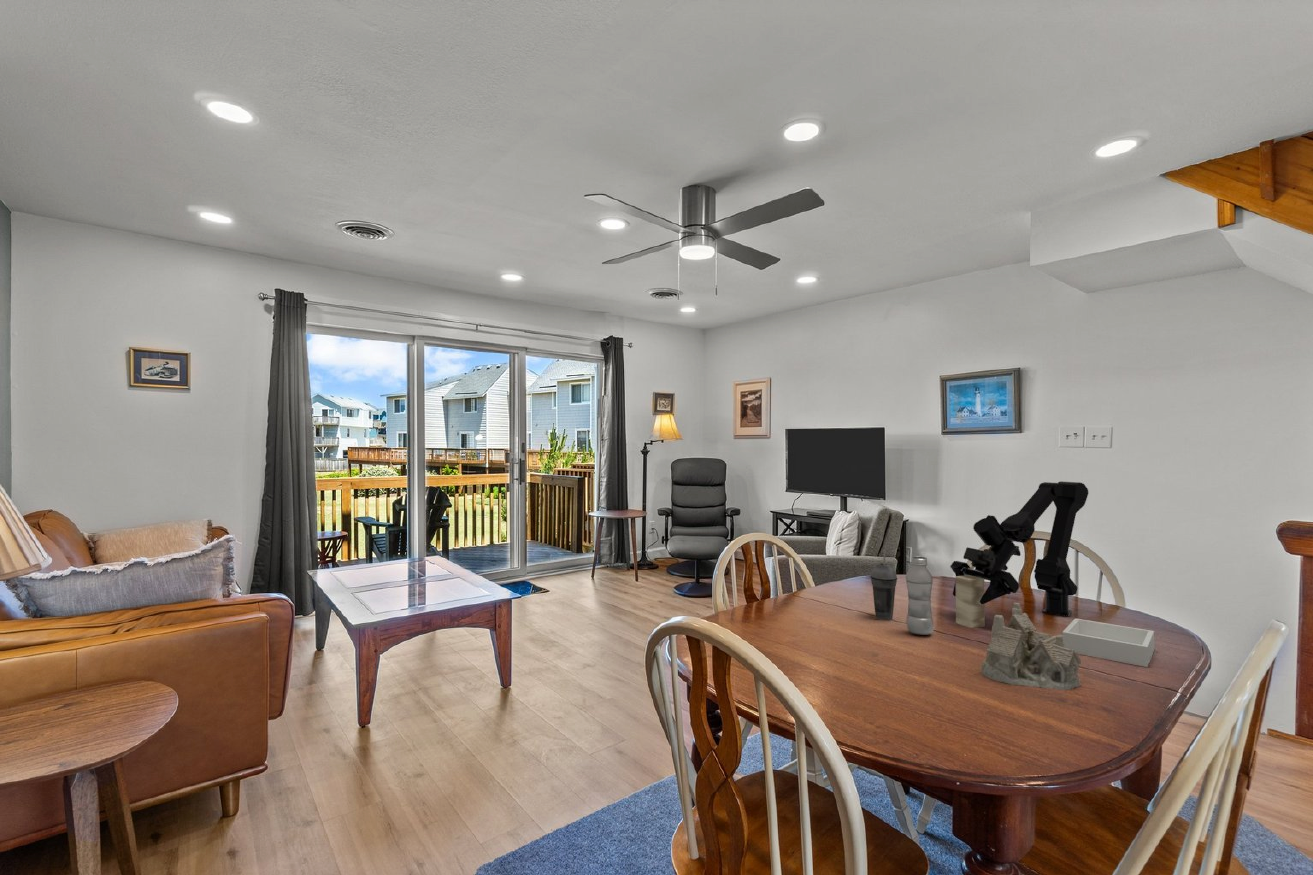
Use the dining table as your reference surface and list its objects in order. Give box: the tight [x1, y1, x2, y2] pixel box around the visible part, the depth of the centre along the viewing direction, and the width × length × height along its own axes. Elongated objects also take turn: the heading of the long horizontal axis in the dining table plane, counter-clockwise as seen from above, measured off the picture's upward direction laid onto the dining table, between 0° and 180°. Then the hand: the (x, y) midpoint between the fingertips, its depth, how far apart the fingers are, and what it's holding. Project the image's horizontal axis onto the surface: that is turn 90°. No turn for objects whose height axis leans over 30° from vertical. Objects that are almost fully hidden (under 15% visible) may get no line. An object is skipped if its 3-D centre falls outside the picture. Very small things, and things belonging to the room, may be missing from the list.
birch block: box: [955, 575, 986, 629], centre depth 169 cm, size 5×5×13 cm
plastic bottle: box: [905, 556, 935, 636], centre depth 161 cm, size 6×7×20 cm
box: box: [1062, 618, 1155, 668], centre depth 148 cm, size 16×16×4 cm
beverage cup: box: [870, 548, 898, 621], centre depth 176 cm, size 7×7×20 cm
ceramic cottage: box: [980, 602, 1082, 691], centre depth 130 cm, size 16×16×15 cm
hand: (967, 599), depth 169 cm, fingers open, 9 cm apart
